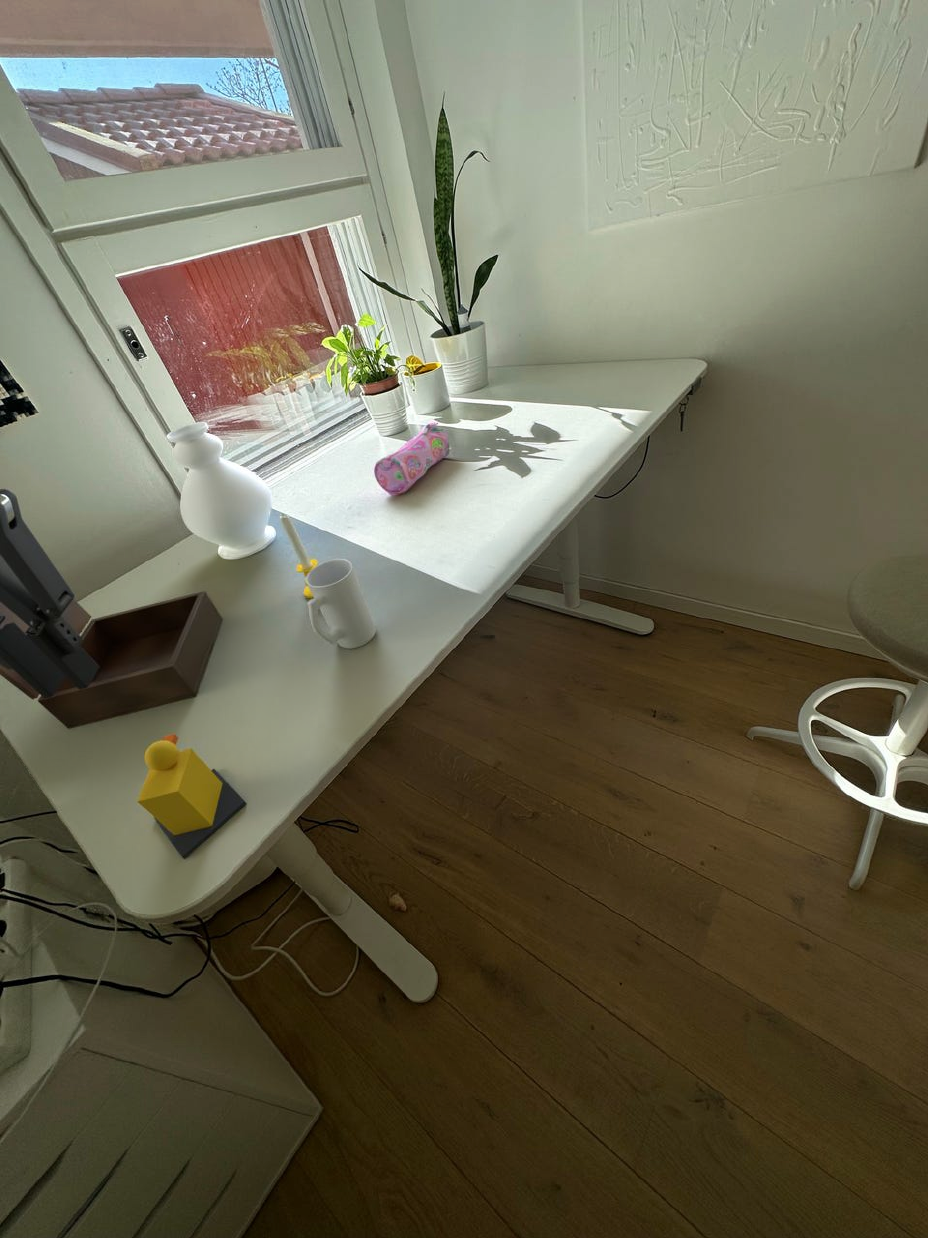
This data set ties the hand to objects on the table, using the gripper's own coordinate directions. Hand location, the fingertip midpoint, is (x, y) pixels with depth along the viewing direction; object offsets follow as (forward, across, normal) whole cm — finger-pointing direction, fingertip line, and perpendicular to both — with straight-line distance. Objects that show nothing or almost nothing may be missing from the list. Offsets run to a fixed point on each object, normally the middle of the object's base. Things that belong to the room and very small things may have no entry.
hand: (72, 681), depth 47 cm
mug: (+23, -18, -24) cm, 37 cm away
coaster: (+23, 0, 0) cm, 23 cm away
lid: (+5, +26, -30) cm, 40 cm away
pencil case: (+23, -33, -79) cm, 88 cm away
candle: (+23, -11, -41) cm, 48 cm away
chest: (+23, +16, -30) cm, 41 cm away
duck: (+22, 0, 0) cm, 22 cm away
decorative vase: (+23, +6, -67) cm, 71 cm away
